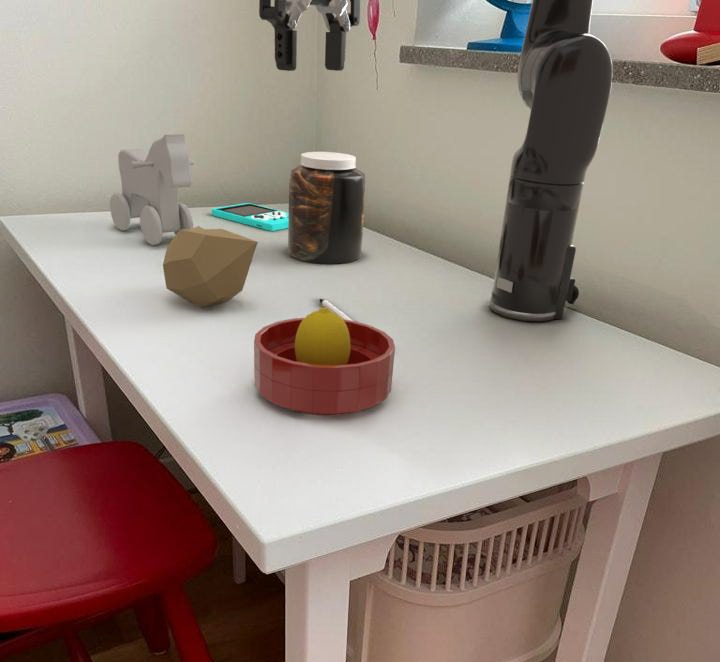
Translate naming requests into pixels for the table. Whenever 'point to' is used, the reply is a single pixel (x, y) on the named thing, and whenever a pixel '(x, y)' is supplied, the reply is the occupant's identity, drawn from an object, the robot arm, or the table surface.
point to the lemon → (322, 339)
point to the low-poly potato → (207, 265)
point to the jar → (326, 208)
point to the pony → (154, 188)
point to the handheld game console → (254, 216)
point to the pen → (334, 309)
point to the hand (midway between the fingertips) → (311, 70)
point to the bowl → (323, 371)
